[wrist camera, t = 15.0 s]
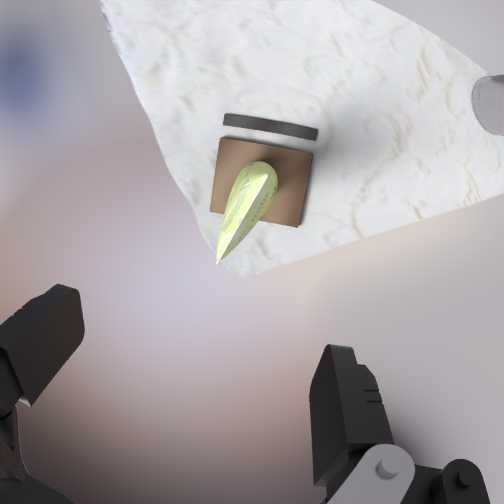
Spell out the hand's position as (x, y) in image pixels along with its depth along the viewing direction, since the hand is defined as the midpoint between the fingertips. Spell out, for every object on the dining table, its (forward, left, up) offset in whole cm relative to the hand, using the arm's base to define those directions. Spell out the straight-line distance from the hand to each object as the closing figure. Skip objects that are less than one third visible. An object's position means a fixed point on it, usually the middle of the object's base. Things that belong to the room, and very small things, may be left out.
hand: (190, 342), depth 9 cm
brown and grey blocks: (0, -2, -33) cm, 33 cm away
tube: (0, 0, -33) cm, 33 cm away
